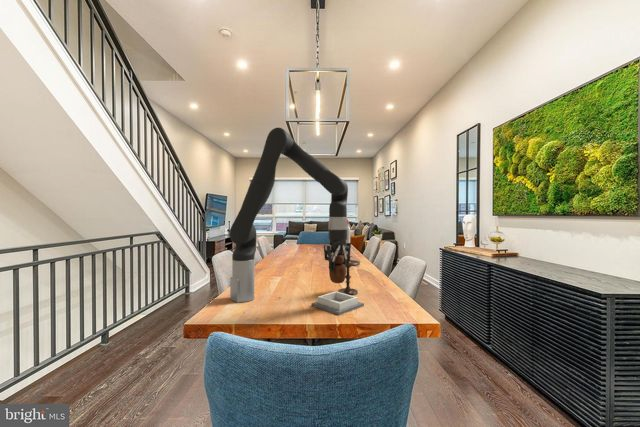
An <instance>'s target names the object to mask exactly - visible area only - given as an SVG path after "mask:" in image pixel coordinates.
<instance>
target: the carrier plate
mask: <svg viewBox="0 0 640 427" xmlns="http://www.w3.org/2000/svg"><path fill="white" fill-rule="evenodd" d="M311 306H312V307H314V308H317V309H320V310H323V311H325V312H329V313H331V314H334V315H337V316H341V315H344V314H347V313H349V312H352V311H354V310H357V309H359V308H363V307H364V306H365V303H364V302H361V301H359V297H358V296H355V295H347V294H344V293H340V292H338V290H337V291H332V292H329V293H326V294H323V295H319V296H317V301H313V302H311Z"/></svg>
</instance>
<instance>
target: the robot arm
mask: <svg viewBox="0 0 640 427" xmlns="http://www.w3.org/2000/svg"><path fill="white" fill-rule="evenodd" d="M281 155H283V156H285V157H287V158H288V159H290V160H291V161H293V162H294V163H296V164H297V165H298V166H299V167H300V168H301V170H303V172H305V173H306V174H307V175H308V176H310V178H312V179H313V180H315V181H316V182H317V183H319V184H320V185H321V187H323V188H324V189H325V190H326V191H327V192H328V193H329V194H331V195H330V196H331V198H330V204H329V209H328V210H329V211H328V213H329V214H328V217H329V218H328V241H329V244H324V245H323V253H324V254H323V255H324V260H325V261H328V271H329V270H330V271H334V270H335V262H334V260H335V257H336V256H337V254H339V253H341V249H342V250H343V257H344V262H343V263H342V264H344V265H345V266H346V259H347V258H348V257H350V256H351V248H352V243H351V242H350V243H346V240H347V225H348V223H347V219H348V217H347V213H348V212H347V210H348V208H347V203H348V196H349V195H348V194H349V187H348V184H347V182H346V181H345V180H344V179H343V178H340V177H339V176H337V174H335V173H334V172H332V171H331V170H330V168H328V167H327V166H326V165H325V164H323V163H322V162H321V161H320V160H318V159H317V158H315V157H314V156H313V155H311V154H309V153H308V152H307V151H305V150H304V149H303V148H302V147H301V146H299V145H298V143H297V142H296V141H295V140H294V139H293V136H291V135H290V134H289V132H288V131H286V130H285V129H283V127H275V128H272V129H271V130H270V131H269V132H268V134H267V137H266V140H265V143H264V146H263V149H262V153H261V157H260V159H259V162H258V163H257V167H256V169H255V172H254V174H253V177H252V178H251V180H250V184H249V186H248V189H247V192H246V194H245V197H244V199H243V202H242V205H241V207H240V210H239V211H238V213H237V215H236V218H234V221H233V222H232V224H231V226H230V229H229V239H230V241H231V242H232V243H233V244H234V245H235V248H234V251H233V252H232V258H231V260H232V262H231V263H232V264H231V265H232V268H231V269H232V270H231V271H232V275H231V277H230V278H229V280H230V281H229V282H230V300H231V301H233V302H235V303H246V302H250V301H253V300H254V299H255V254H256V252H257V230H256V227H255V225H254V222H255V220H256V218H257V216H258V214H259V212H260V211H261V210H262V209H263V207H264V205H265V204H266V203H267V201H268V199H269V198H270V195H271V192H272V190H273V189H274V184H275V180H276V171H277V164H278V162H279V159H280V157H281ZM347 251H348V254H347ZM333 253H334V254H333ZM332 256H333V257H332ZM350 258H351V257H350Z"/></svg>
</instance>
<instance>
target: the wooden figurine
mask: <svg viewBox="0 0 640 427" xmlns="http://www.w3.org/2000/svg"><path fill="white" fill-rule="evenodd" d="M332 253H333V252H332ZM333 254H334V253H333ZM332 257H333V256H332ZM334 262H335V270H334V271H330V270H329V269H328V274H329V278H330V281H331V282H332V283H334V284H342V283H345V281H346V278H345V277H346V275H347V268H346V266H345V265H344V264H342V263H343V262H344V257H343V250H342V249H341V253H339V254H337V256H336V257H335V260H334Z"/></svg>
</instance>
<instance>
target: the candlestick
mask: <svg viewBox="0 0 640 427" xmlns="http://www.w3.org/2000/svg"><path fill="white" fill-rule="evenodd" d="M345 242H346V243H351V227H350V222H349V219H348V218H347V240H345ZM347 254H348V251H347ZM352 257H353V255H350V257H348V258H347V259H346V277H345V280H344V283H345V285H346V286H345V287H344V288H339V289H338V290H337V292H340V293H344V294H347V295H351V296H355V295H357V294H358V292H359V291H358V290H357V289H356V288H351V286H350V284H351V281H350V279H351V278H352V276H351V275H350V268H351V267H357V266H360V261H359V260H355V259H351V258H352Z"/></svg>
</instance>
